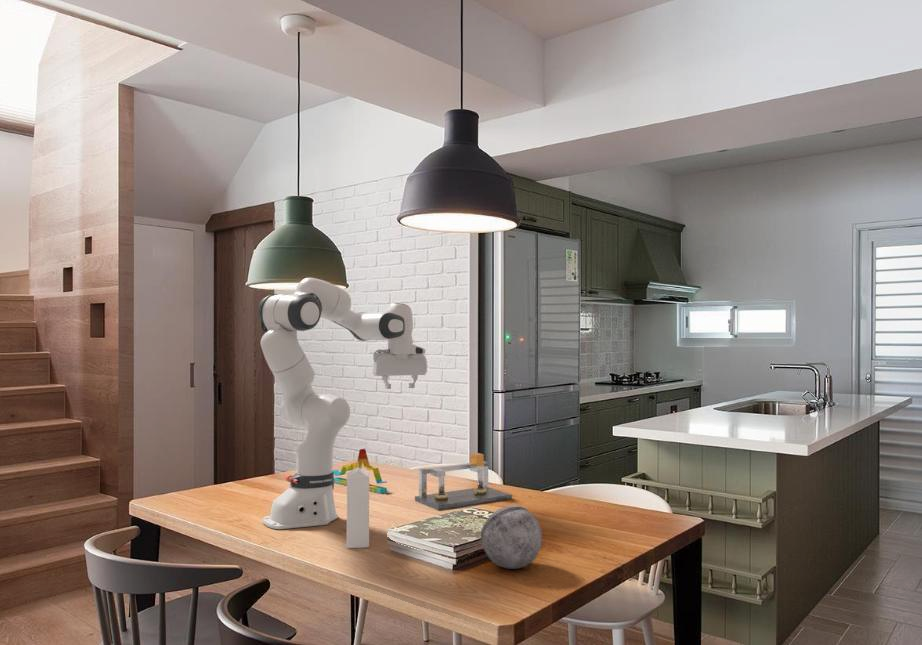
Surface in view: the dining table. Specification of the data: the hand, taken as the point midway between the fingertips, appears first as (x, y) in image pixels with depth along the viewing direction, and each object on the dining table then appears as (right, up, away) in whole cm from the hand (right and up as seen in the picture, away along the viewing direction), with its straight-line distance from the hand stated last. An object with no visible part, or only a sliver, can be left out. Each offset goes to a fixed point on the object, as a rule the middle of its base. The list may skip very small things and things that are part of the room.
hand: (400, 388), depth 244 cm
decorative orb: (+34, -37, -75) cm, 90 cm away
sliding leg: (+28, -35, +2) cm, 45 cm away
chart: (-18, -40, +18) cm, 47 cm away
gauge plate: (+23, -39, -3) cm, 45 cm away
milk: (-7, -37, -56) cm, 68 cm away
